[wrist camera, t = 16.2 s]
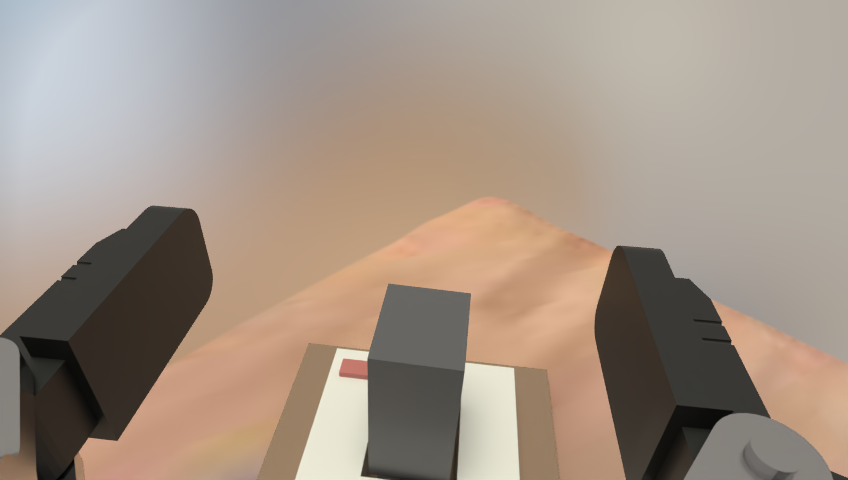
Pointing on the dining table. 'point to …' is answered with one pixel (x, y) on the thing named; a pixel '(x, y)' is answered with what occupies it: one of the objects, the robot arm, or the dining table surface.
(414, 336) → the plug
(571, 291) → the dining table surface
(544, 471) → the socket
